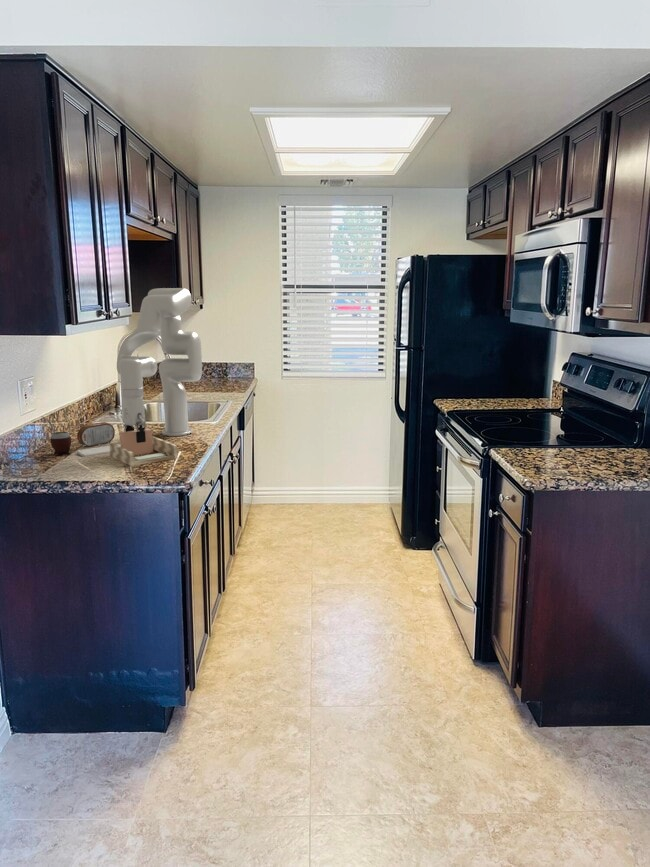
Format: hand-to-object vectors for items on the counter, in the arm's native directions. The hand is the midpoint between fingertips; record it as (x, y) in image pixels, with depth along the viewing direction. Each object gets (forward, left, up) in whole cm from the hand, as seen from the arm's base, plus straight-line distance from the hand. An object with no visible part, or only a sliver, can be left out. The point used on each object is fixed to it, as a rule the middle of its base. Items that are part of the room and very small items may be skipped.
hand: (135, 440), depth 224 cm
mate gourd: (-20, -21, -6) cm, 30 cm away
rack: (+5, 0, -6) cm, 8 cm away
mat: (-13, -5, -6) cm, 15 cm away
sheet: (0, 0, -6) cm, 6 cm away
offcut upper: (+11, +1, -5) cm, 12 cm away
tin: (-27, -5, -6) cm, 28 cm away
